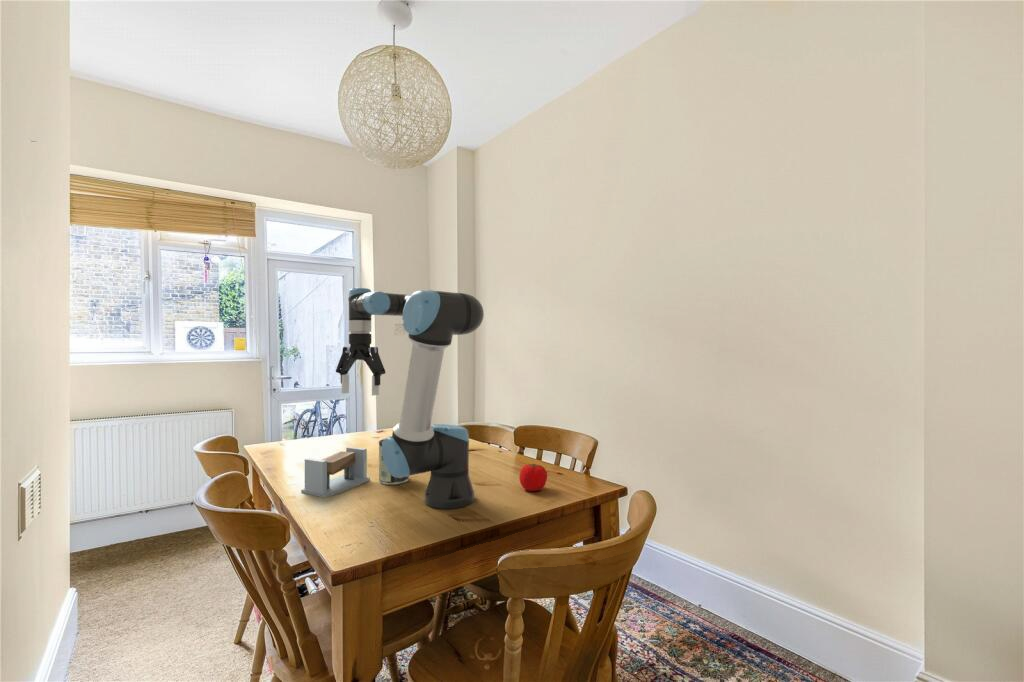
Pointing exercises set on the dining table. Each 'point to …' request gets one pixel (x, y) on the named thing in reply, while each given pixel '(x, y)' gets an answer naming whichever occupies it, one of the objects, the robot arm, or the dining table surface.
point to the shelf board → (339, 462)
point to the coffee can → (383, 472)
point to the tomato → (533, 477)
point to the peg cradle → (325, 487)
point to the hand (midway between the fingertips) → (360, 394)
